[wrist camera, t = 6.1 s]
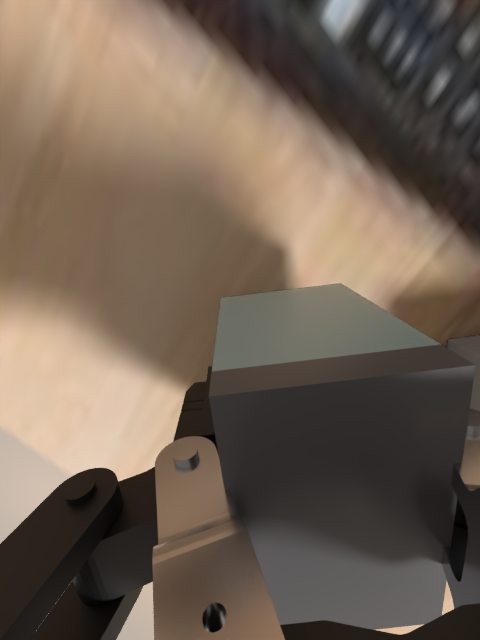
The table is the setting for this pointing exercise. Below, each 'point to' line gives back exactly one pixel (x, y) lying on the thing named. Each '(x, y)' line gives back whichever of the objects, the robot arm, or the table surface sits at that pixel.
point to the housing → (340, 452)
